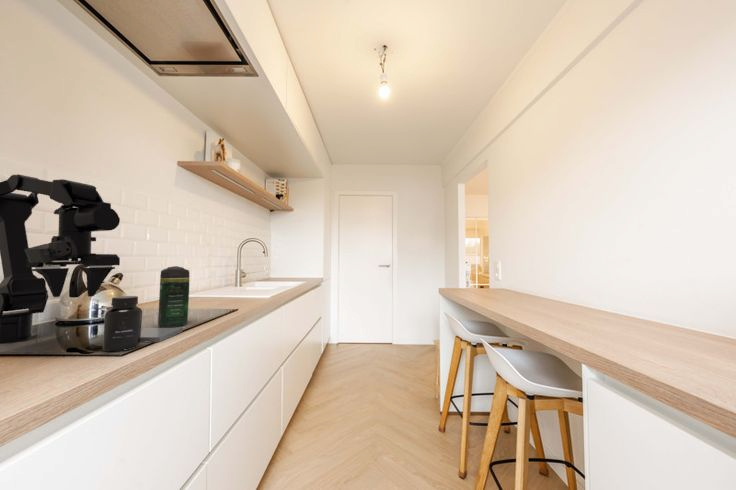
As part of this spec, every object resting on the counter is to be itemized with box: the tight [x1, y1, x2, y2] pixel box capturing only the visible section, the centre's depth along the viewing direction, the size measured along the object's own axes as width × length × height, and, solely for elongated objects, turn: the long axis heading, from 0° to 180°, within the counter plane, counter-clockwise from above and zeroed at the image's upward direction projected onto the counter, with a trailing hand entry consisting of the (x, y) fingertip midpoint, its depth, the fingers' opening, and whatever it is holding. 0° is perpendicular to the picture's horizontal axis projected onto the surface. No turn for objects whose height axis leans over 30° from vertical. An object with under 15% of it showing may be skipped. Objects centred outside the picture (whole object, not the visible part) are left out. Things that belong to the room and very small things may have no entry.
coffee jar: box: [157, 265, 190, 328], centre depth 93 cm, size 10×8×19 cm
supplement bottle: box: [102, 295, 143, 352], centre depth 69 cm, size 7×7×12 cm
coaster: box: [140, 327, 184, 343], centre depth 78 cm, size 10×10×1 cm
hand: (73, 296), depth 70 cm, fingers open, 9 cm apart
